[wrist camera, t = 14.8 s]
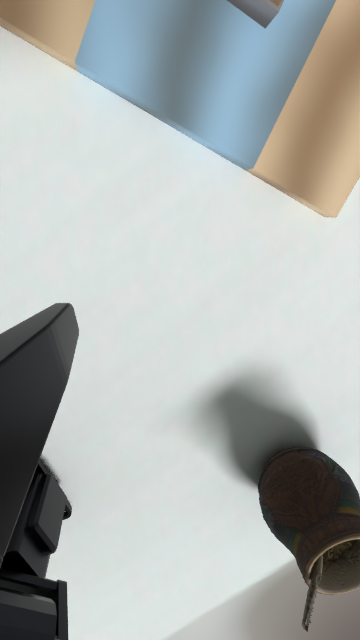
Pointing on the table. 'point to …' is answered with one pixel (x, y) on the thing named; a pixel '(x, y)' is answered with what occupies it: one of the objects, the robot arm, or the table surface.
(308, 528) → the mate gourd
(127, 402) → the table surface
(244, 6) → the wooden pillar on base
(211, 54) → the board
